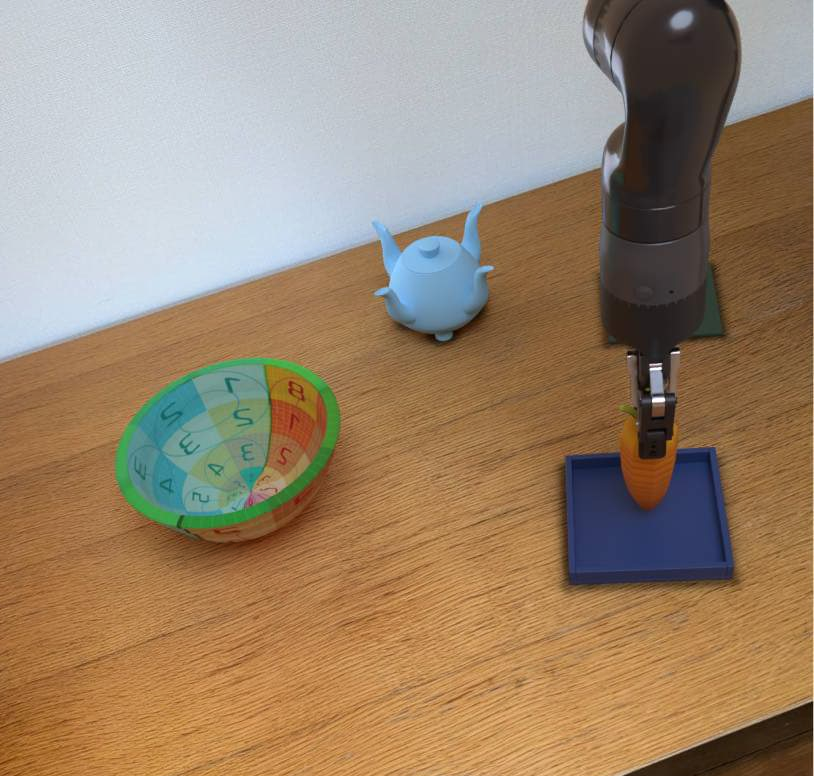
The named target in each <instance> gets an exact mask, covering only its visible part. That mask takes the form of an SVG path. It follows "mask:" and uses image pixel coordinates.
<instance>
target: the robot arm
mask: <svg viewBox="0 0 814 776" xmlns="http://www.w3.org/2000/svg"><path fill="white" fill-rule="evenodd" d="M737 19H738V18H737V16H736V13H735V11H734V10H733V9H732V6H731V5H730V4H729V3H728V1H726V0H587V2H586V5H585V8H584V12H583V16H582V25H581V31H582V32H581V33H582V40H583V44H584V47H585V49H586V51H587V54H588V55H589V58H591V60H592V62H594V64H595V65H596V67H598V68H599V70H600V71H601V72H602V73H603V74H604V75H605V76H606V77H607V79H608V80H609V81H611V84H613V86H614V87H615V88H616V89H617V90H618V91H619V93H620V94H621V96H622V102H623V107H624V121H622V123H620V124H619V125H618V126H617V127H615V128H614V129H613V131H612V132H611V133H610V135H609V136H608V137H607V140H606V142H605V145H604V147H603V150H602V158H601V167H600V179H601V181H600V183H601V226H600V234H599V241H598V244H599V245H598V246H599V247H598V253H599V285H600V287H599V291H600V293H599V294H600V297H599V298H600V319H601V320H600V321H601V324H602V326H603V328H604V330H605V331H606V333H607V335H608V334H609V335H610V336H611V337H613V338H614V339H615V340H617V341H618V342H620V343H619V344H622V345H624V348H625V362H626V371H627V373H628V374H629V393H630V395H629V396H630V403H631V405H632V406H633V408H634V409H636V410H637V421H636V427H638V432H637V437H638V454H639V458H640V459H644V460H645V459H660V458H664V457H665V456H666V445H667V441H669V440H672V436H674V431H673V426H674V423H675V416H676V409H677V405H678V397H677V383H678V382H677V378H678V377H677V375H678V374H677V373H678V371H679V370H680V367H681V348H680V347H681V346H680V345H679V344H682V343H683V342H684V341H686V340H688V339H690V338H689V337H690V336H692V335H693V334H694V333H695V332H696V331H697V330H698V328H699V327H700V325H701V324H702V321H703V319H704V314H705V302H706V289H707V277H708V263H710V262H709V261H710V249H711V230H710V220H709V219H710V217H709V212H710V211H709V210H710V196H711V185H712V184H711V183H712V167H713V166H712V165H713V164H712V162H713V161H712V159H713V157H714V154H715V152H716V149H717V147H718V144H719V142H720V139H721V138H722V135H723V131H724V129H725V125H726V122H727V119H728V116H729V113H730V110H731V107H732V104H733V101H734V99H735V95H736V93H737V89H738V86H739V81H740V76H741V70H742V62H743V48H742V47H743V46H742V37H741V31H740V25H739V21H738V20H737ZM666 384H667V386H666ZM664 386H666V387H664ZM646 388H650V391H646Z"/></svg>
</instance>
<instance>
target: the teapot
mask: <svg viewBox="0 0 814 776" xmlns="http://www.w3.org/2000/svg"><path fill="white" fill-rule="evenodd" d="M482 208H483V203H481V202H479V203H477V204H475V205H474V206H473V207H472V208H471V209H470V210H469V212H468V214H467V217H466V220H465V224H464V231H463V238H462V241H461V243H460V242H458V241H456V240H455V239H453V238H451V237H447V236H441V235H432V236H431V235H430V236H426V237H422V238H419V239H417V240H415V241H413V242H412V243H410V244H409V245H408V246H407V247H406V248H405V249H404V250H403V251H401V250H400V248H399V246H398V245H397V242H396V240H395V239H394V237H393V235H392V233H391V232H390V231H389V229H388V228H387V226H385V225H384V224H383V223H382V222H380V221H377V220H372V221H371V226H372V228H373V229H374V230H375V232H376V233H377V235H378V237H379V239H380V243H381V247H382V248H381V249H382V260H383V265H384V268H385V270H386V273H387V275H388V277H389V278H390V279H389V284H388V286H385V287H381V288H379V289H377V290H376V291H375V292H374V296H376V297H383V299H384V302H385V308H386V311H387V313H388V315H389V317H390V318H391V319H392V320H393V321H395V322H397V323H400V324H401V325H403V326H405V327H406V328H409V329H410V330H412V331H415V332H418V333H422V334H427V335H435V339H436V340H438V341H441V342H445V341H448V340H451V338H452V337H453V336H454V333H453V331H456V330H459V329H460V328H463V327H464V326H466V325H467V324H469V323H470V322H471V321H472V320H474V318H475V317H477V315H478V314H479V313H480V312H481V311H482V310H483V308H484V307H485V306H486V304H487V302H488V300H489V297H490V289H489V283H488V280H487V276H488V274H489V273H490V272H491V271H493V270H494V269H495V267H494V266H493V265H483V266H481V265H480V259H481V256H482V245H481V239H480V235H479V230H478V229H479V228H478V221H479V216H480V213H481V211H482Z"/></svg>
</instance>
